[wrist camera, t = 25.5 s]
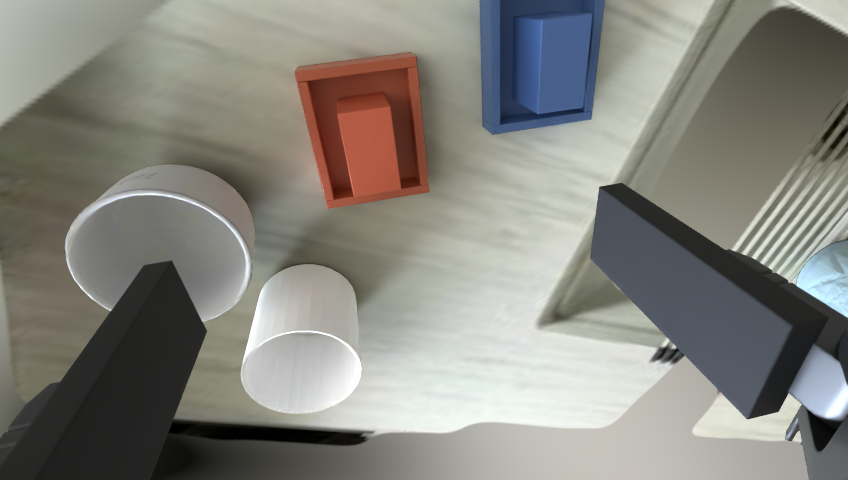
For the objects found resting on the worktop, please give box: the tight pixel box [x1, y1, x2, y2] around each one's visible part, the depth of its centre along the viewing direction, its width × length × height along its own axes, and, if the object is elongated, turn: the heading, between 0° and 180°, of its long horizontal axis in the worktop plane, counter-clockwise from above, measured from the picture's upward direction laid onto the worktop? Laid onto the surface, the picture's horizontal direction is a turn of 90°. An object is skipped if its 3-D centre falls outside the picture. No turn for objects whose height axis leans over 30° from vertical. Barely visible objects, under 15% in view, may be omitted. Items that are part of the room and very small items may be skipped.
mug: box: [241, 264, 361, 414], centre depth 37 cm, size 12×9×9 cm
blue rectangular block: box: [512, 11, 592, 114], centre depth 30 cm, size 6×4×5 cm, turn 6°
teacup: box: [65, 164, 255, 322], centre depth 31 cm, size 14×11×8 cm
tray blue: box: [480, 0, 605, 135], centre depth 32 cm, size 10×8×2 cm
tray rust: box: [295, 52, 429, 209], centre depth 32 cm, size 10×8×2 cm
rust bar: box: [337, 92, 401, 197], centre depth 31 cm, size 6×4×5 cm, turn 6°
